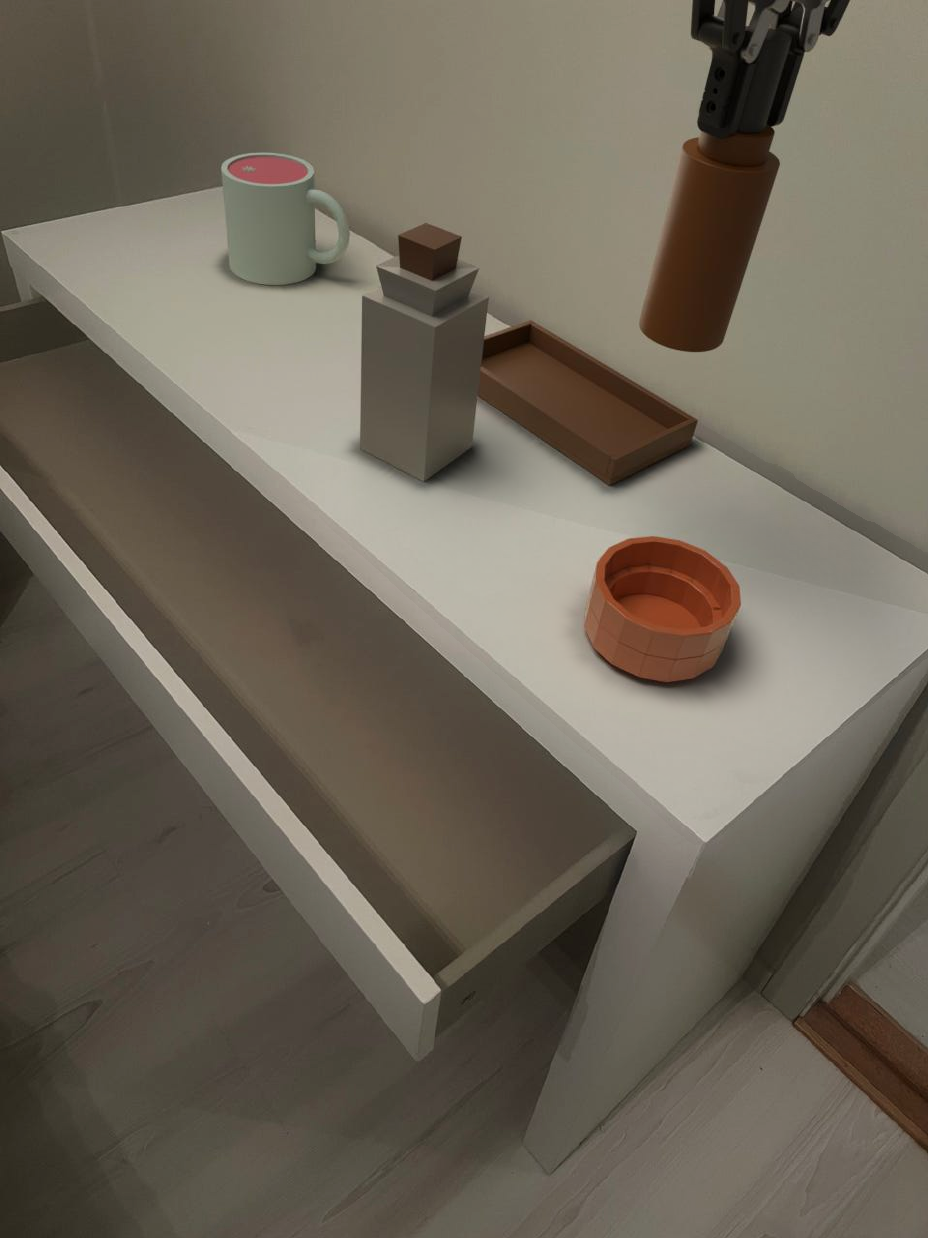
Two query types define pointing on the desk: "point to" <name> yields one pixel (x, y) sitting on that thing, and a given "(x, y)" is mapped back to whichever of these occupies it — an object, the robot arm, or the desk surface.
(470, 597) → the desk surface
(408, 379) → the perfume bottle
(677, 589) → the bowl
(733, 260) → the bottle
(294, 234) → the mug
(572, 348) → the tray
